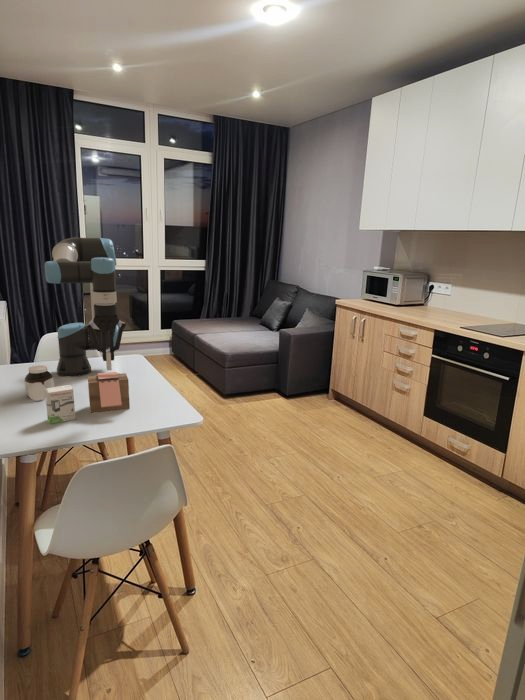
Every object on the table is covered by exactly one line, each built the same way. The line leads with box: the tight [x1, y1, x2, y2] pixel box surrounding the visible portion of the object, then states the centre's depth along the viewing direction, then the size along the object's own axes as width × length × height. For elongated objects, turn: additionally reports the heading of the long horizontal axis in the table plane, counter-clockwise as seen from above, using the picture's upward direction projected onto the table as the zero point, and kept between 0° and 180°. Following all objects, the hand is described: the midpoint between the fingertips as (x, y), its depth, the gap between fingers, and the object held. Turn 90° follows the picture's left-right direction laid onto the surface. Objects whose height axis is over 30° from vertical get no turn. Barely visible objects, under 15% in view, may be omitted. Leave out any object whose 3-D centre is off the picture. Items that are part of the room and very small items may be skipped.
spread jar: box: [24, 364, 55, 402], centre depth 176 cm, size 12×11×12 cm
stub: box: [99, 380, 122, 408], centre depth 160 cm, size 10×7×1 cm
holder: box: [87, 371, 131, 414], centre depth 167 cm, size 8×14×13 cm, turn 113°
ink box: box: [45, 384, 77, 425], centre depth 155 cm, size 9×5×12 cm, turn 125°
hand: (109, 369), depth 156 cm, fingers closed
